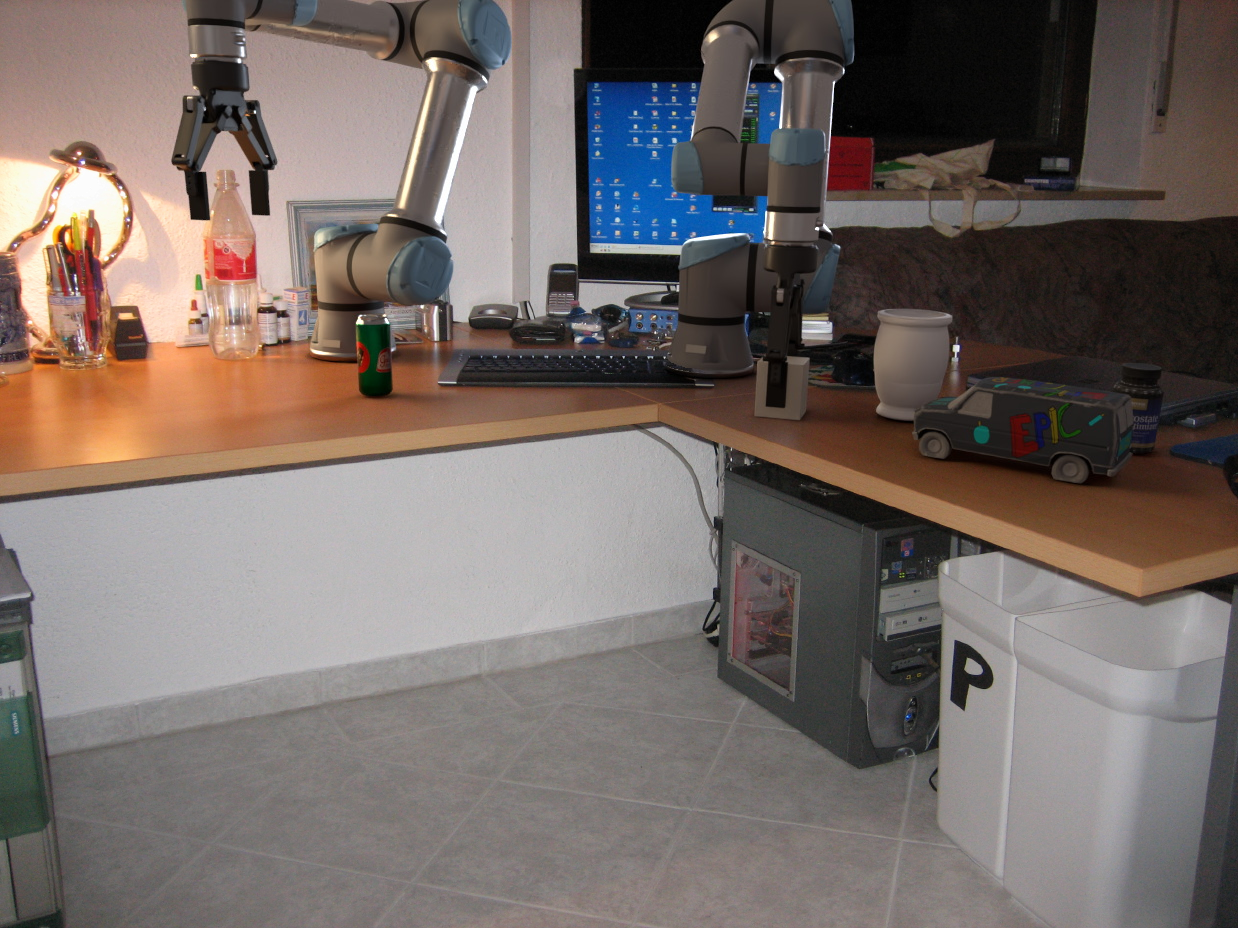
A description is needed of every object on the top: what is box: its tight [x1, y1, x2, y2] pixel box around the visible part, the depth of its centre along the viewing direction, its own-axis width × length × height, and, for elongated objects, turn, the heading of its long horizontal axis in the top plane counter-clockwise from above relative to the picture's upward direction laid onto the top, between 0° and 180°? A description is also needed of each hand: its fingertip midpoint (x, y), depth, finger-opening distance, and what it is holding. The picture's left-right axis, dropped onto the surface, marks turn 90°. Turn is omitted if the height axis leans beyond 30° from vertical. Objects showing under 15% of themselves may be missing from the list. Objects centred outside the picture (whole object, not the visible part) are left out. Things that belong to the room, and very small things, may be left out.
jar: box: [873, 308, 953, 422], centre depth 154 cm, size 11×10×15 cm
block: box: [754, 354, 811, 421], centre depth 156 cm, size 6×7×8 cm
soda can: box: [356, 313, 394, 398], centre depth 162 cm, size 5×5×12 cm
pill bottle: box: [1111, 362, 1165, 455], centre depth 139 cm, size 6×6×11 cm
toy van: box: [911, 376, 1135, 484], centre depth 132 cm, size 11×25×10 cm, turn 54°
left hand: (232, 218), depth 155 cm, fingers open, 13 cm apart
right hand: (781, 399), depth 156 cm, fingers open, 9 cm apart
